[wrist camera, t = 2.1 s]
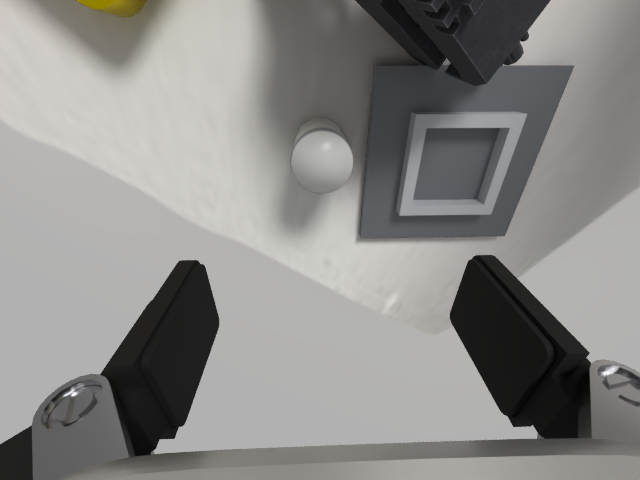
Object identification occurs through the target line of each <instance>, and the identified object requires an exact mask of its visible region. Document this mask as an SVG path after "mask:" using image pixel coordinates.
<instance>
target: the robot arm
mask: <svg viewBox="0 0 640 480" xmlns="http://www.w3.org/2000/svg"><path fill="white" fill-rule="evenodd" d="M450 320H451V323H452V325H453V326H454V328H455V330H456V332H457V333H458V335H459V337H460V339H461V341H462V342H463V344H464V346H465V348H466V350H467V352H468V354H469V355H470V357H471V359H472V361H473V362H474V364H475V366H476V368H477V370H478V372H479V373H480V375H481V377H482V379H483V381H484V382H485V384H486V386H487V388H488V390H489V391H490V393H491V395H492V397H493V399H494V400H495V402H496V404H497V406H498V407H499V409H500V411H501V412H502V413H503V414H504V415H506V416H508V418H509V419H510V421H511V423H512V425H513V427H522V426H523V427H524V426H532V425H533V426H534V427H535V429H536V430H537V432H538V437H537V439H508V440H479V441H478V440H475V441H443V442H413V443H387V444H386V443H385V444H357V445H333V446H332V445H330V446H307V447H306V446H304V447H280V448H258V449H257V448H256V449H232V450H213V451H198V452H197V451H196V452H180V453H164V454H154V452H153V450H155V449H156V447H157V444H158V442H159V439H174V438H175V435H176V433H177V430H178V427H179V426H180V427H181V426H183V425H184V424H185V422H186V420H187V417H188V414H189V411H190V408H191V405H192V402H193V399H194V397H195V394H196V391H197V388H198V385H199V382H200V379H201V377H202V374H203V371H204V368H205V365H206V362H207V359H208V357H209V354H210V351H211V348H212V345H213V342H214V339H215V337H216V334H217V331H218V328H219V317H218V313H217V309H216V305H215V302H214V298H213V294H212V291H211V287H210V283H209V279H208V275H207V272H206V268H205V266H204V265H203V264H200V263H199V261H197V260H185V261H179V262H178V263H177V265H176V266H175V268H174V269H173V271H172V272H171V273H170V275H169V277H168V278H167V279H166V281H165V283H164V284H163V285H162V287H161V288H160V290H159V291H158V293H157V294H156V296H155V297H154V299H153V300H152V301H151V302H150V303H149V304H148V305H147V306H146V308H145V310H144V311H143V312H142V314H141V315H140V317H139V318H138V320H137V321H136V323H135V324H134V326H133V327H132V329H131V330H130V331H129V333H128V334H127V336H126V337H125V339H124V340H123V342H122V343H121V345H120V346H119V348H118V349H117V351H116V352H115V354H114V355H113V356H112V358H111V359H110V361H109V362H108V364H107V365H106V367H105V368H104V370H103V371H102V373H101V374H100V375H99V374H89V375H85V376H80V377H78V378H76V379H73V380H71V381H69V382H67V383H65V384H64V385H62V386H61V387H59V388H58V389H56V390H55V391H54V392H53V393H52V394H50V395H49V396H48V397H47V398H46V399H45V401H44V402H43V403H42V404H41V405H40V406H39V408H38V410H37V411H36V413H35V415H34V418H33V422H32V426H30V427H29V428H27V429H25V430H23V431H22V432H20V433H19V434H17V435H15V436H13V437H12V438H10V439H8V440H7V441H5V442H4V443H2V444H0V480H640V373H639V372H637V371H636V370H634V369H632V368H630V367H628V366H626V365H623V364H620V363H617V362H614V361H609V360H597V361H594V362H593V363H590V361H589V360H588V359H587V358H586V357H587V356H588V355H589V352H588V351H587V350H586V349H585V348H584V347H583V346H582V345H581V344H580V342H579V341H577V339H576V338H575V337H574V336H573V335H572V334H571V333H570V332H569V331H568V330H567V329H566V328H565V327H564V326H563V325H562V324H561V323H560V322H559V321H558V320H557V319H556V318H555V317H554V316H553V315H552V314H551V313H550V312H549V311H548V310H547V309H546V308H545V307H544V306H543V305H542V304H541V303H540V302H539V301H538V300H537V299H536V298H535V297H534V296H533V295H532V294H531V293H530V291H529V290H528V289H527V288H526V287H525V286H524V285H523V284H522V283H521V282H520V281H519V280H518V279H517V278H516V277H515V276H514V275H513V274H512V273H511V272H510V271H509V270H508V269H507V268H506V267H505V266H504V265H503V264H502V263H501V262H500V261H499V260H498V259H497V258H496V257H495V256H493V255H476V256H474V257H473V258H472V260H469V261H468V263H467V266H466V269H465V271H464V274H463V277H462V280H461V283H460V286H459V289H458V292H457V295H456V298H455V300H454V303H453V306H452V309H451V312H450Z"/></svg>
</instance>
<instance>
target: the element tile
mask: <svg viewBox="0 0 640 480" xmlns="http://www.w3.org/2000/svg"><path fill="white" fill-rule="evenodd" d="M76 1H78V2H79V3H81V4H83V5H85V6H87V7H89V8H91V9H94V10H97V11H101V12H105V13H109V14H113V15H117V16H121V17H131V16H133V15H135V14H136V13H138V12H139V11H140V10H141V8H142V7H143V5H144V3H145V1H146V0H76Z"/></svg>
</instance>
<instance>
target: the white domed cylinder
mask: <svg viewBox="0 0 640 480" xmlns="http://www.w3.org/2000/svg"><path fill="white" fill-rule="evenodd" d="M291 169H292V173H293V175H294V177H295V179H296V180H297V182H298V183H299V184H300V185H301V186H302V187H304V188H305V189H307V190H309V191H311V192H314V193H329V192H332V191H335V190H337V189H339V188H340V187H341V186H343V185H344V184H345V183H346V181H347V180H348V179H349V177H350V175H351V172H352V169H353V154H352V150H351V148H350V146H349V144H348V142H347V140H346V139H345V137H344V135H343V133H342V131H341V129H340V128H339V126H338V125H337V124H336V123H335V122H333V121H331V120H329V119H327V118H313V119H311V120H308V121H307V122H305V123H304V124H303V125H302V126H301V127H300V129H299V130H298V132H297V135H296V138H295V143H294V147H293V150H292V154H291Z"/></svg>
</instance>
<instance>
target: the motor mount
mask: <svg viewBox="0 0 640 480" xmlns="http://www.w3.org/2000/svg"><path fill="white" fill-rule="evenodd" d="M448 67H449V66H441V67H440V68H439V70H435V69H433V68H431V67H429V66H374V74H373V85H372V97H371V108H370V120H369V131H368V143H367V154H366V166H365V177H364V189H363V200H362V211H361V223H360V237H361V238H405V237H473V236H505V234H506V232H507V229H508V227H509V224H510V222H511V219H512V217H513V214H514V212H515V210H516V207H517V205H518V202H519V200H520V197H521V195H522V192H523V190H524V188H525V185H526V183H527V180H528V178H529V175H530V173H531V170H532V168H533V166H534V163H535V161H536V158H537V156H538V153H539V151H540V148H541V146H542V143H543V141H544V139H545V136H546V134H547V131H548V129H549V126H550V124H551V121H552V119H553V117H554V114H555V112H556V109H557V107H558V104H559V102H560V99H561V97H562V95H563V92H564V90H565V87H566V85H567V82H568V80H569V77H570V75H571V73H572V70H573V68H574V66H501V67H500V68H499V69H498V70H497V71H496V73H495V74H494V75H493V77H492V78H491V79H490V81H489V82H488V83H487V84H484V85H479V86H474V85H471V84H469V83H466V82H464V81H462V80H459V79H457V78H454V77H452V76H450V75H447V74H446V73H445V71H446V70H447V68H448Z"/></svg>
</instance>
